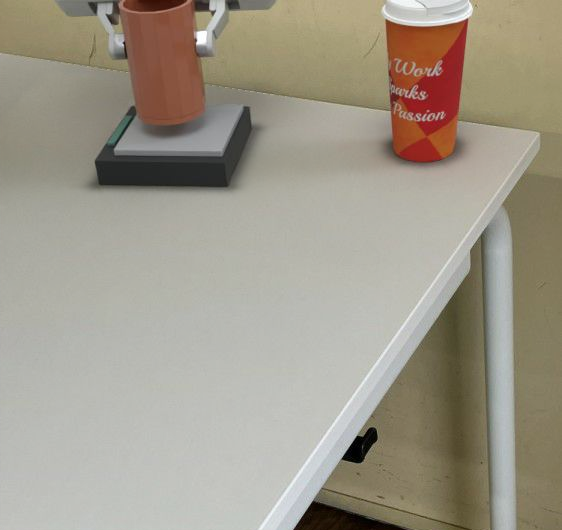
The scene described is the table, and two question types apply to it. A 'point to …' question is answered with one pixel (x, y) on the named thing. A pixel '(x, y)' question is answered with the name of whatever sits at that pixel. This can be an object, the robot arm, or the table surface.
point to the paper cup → (425, 74)
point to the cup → (163, 60)
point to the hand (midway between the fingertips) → (162, 55)
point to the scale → (176, 149)
